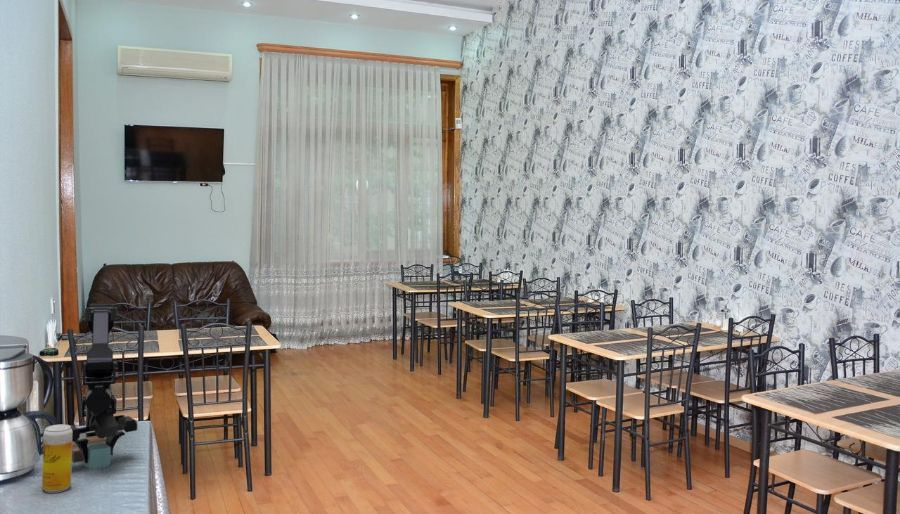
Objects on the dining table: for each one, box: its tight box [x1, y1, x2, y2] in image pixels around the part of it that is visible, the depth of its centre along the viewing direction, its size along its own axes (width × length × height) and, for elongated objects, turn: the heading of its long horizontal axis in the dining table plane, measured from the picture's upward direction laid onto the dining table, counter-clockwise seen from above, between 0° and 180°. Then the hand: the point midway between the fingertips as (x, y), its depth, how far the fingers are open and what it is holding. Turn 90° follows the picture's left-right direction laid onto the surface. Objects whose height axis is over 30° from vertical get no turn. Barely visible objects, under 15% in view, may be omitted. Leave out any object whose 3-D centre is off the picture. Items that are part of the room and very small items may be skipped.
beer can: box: [41, 424, 73, 494], centre depth 170 cm, size 6×6×15 cm
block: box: [82, 442, 112, 470], centre depth 187 cm, size 5×5×5 cm
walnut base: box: [72, 436, 114, 463], centre depth 195 cm, size 10×10×3 cm
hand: (96, 460), depth 188 cm, fingers closed on block, 5 cm apart
